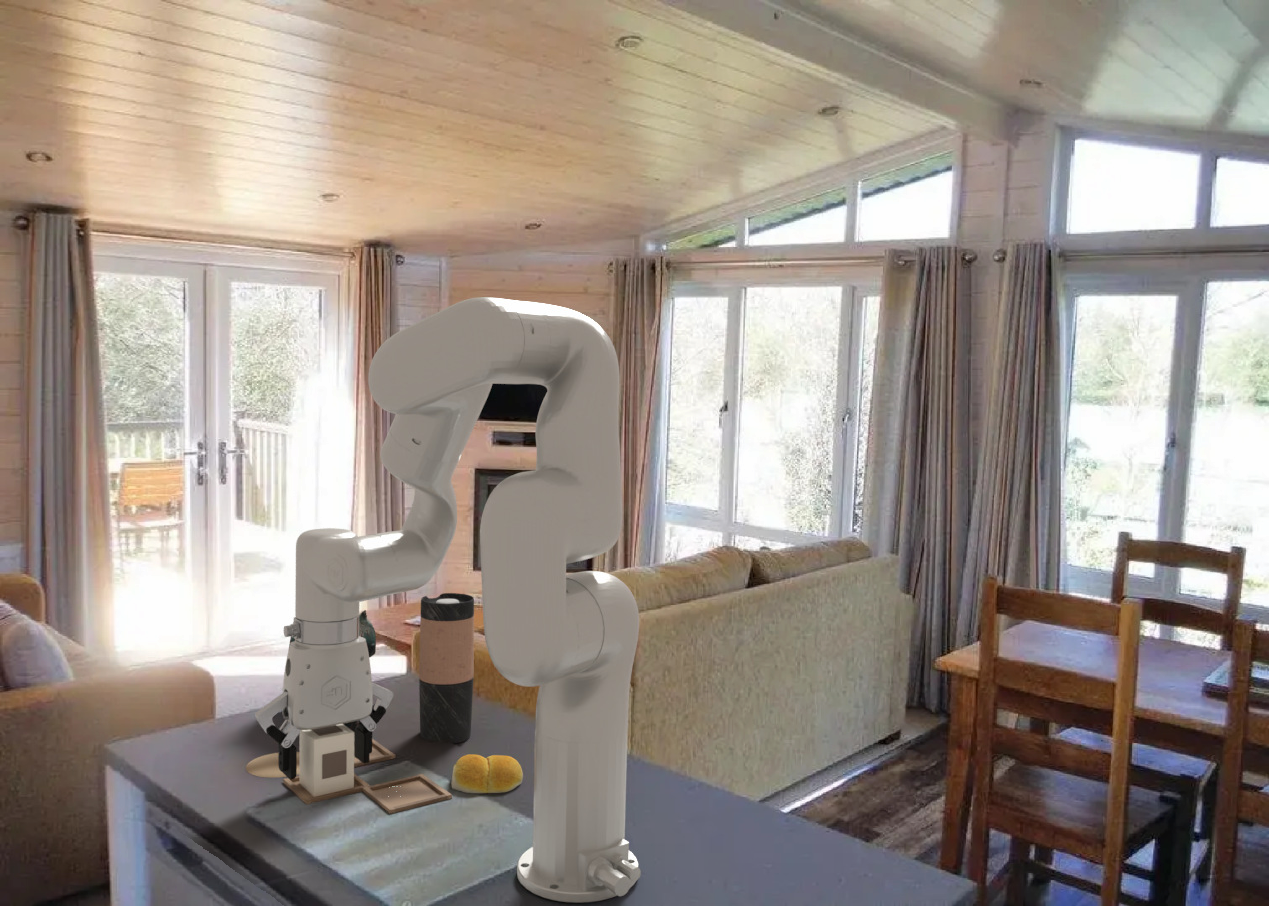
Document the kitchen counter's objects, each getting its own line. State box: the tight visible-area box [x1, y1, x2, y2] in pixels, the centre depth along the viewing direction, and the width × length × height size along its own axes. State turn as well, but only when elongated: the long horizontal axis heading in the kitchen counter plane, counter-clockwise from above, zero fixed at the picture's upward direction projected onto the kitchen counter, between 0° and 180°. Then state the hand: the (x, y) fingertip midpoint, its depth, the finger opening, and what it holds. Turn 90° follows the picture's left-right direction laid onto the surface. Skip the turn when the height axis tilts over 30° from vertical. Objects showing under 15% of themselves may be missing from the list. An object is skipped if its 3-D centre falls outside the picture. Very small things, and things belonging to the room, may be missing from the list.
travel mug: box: [418, 592, 475, 745], centre depth 146 cm, size 8×8×20 cm
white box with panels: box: [298, 724, 355, 797], centre depth 127 cm, size 5×5×7 cm
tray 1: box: [282, 772, 371, 805], centre depth 127 cm, size 8×8×1 cm
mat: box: [245, 751, 300, 779], centre depth 134 cm, size 9×9×1 cm
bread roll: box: [450, 753, 524, 794], centre depth 130 cm, size 8×9×4 cm
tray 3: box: [362, 773, 453, 814], centre depth 125 cm, size 8×8×1 cm
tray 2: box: [354, 738, 397, 768], centre depth 138 cm, size 8×8×1 cm
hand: (326, 767), depth 127 cm, fingers open, 8 cm apart
